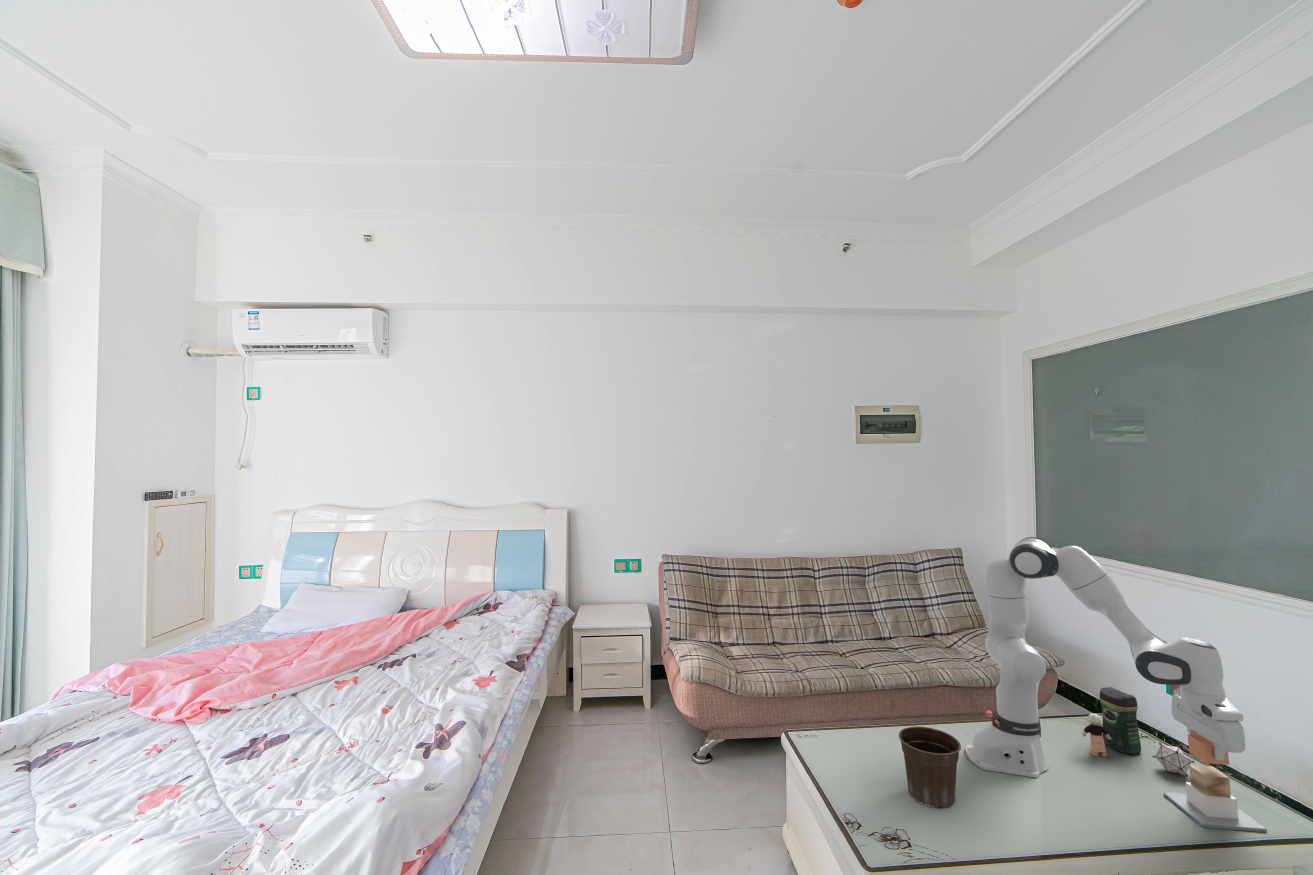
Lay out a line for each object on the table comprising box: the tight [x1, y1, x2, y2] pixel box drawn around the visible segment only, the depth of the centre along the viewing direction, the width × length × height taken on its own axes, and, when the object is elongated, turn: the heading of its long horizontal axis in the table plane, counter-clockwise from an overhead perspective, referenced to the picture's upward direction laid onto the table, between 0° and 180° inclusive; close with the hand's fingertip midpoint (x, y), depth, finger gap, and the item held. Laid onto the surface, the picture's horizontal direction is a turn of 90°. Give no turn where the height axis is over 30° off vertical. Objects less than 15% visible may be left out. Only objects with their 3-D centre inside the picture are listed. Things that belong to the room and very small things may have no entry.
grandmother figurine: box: [1081, 712, 1111, 757], centre depth 178 cm, size 8×4×13 cm, turn 84°
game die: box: [1151, 742, 1196, 777], centre depth 167 cm, size 9×8×10 cm
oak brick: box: [1188, 764, 1231, 797], centre depth 148 cm, size 6×6×5 cm
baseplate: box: [1163, 781, 1268, 833], centre depth 148 cm, size 14×14×6 cm
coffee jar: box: [1098, 686, 1142, 755], centre depth 182 cm, size 10×8×19 cm
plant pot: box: [898, 726, 962, 809], centre depth 159 cm, size 16×16×16 cm
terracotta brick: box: [1187, 733, 1230, 766], centre depth 148 cm, size 6×6×5 cm
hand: (1207, 752), depth 148 cm, fingers closed on terracotta brick, 5 cm apart
